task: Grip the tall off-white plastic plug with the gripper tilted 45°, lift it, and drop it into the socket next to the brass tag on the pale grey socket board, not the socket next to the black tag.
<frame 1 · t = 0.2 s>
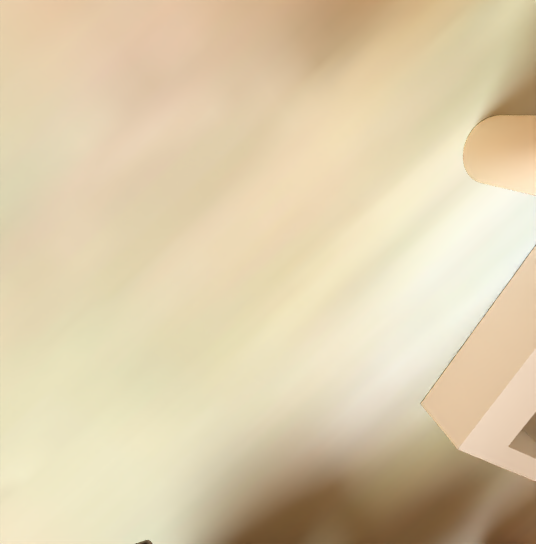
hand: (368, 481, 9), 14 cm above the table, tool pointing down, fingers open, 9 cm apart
plug: (493, 150, 22), on the table
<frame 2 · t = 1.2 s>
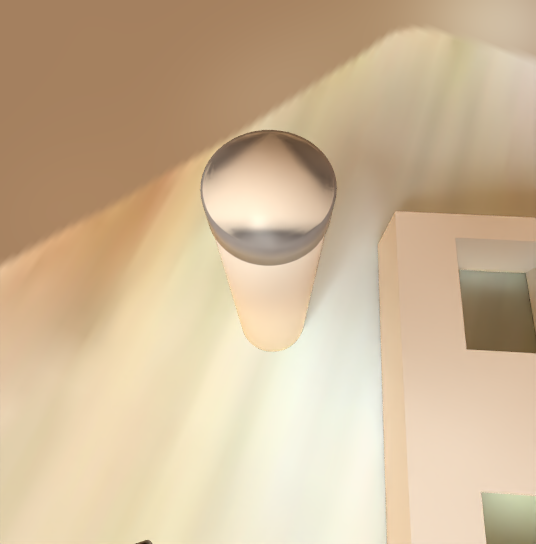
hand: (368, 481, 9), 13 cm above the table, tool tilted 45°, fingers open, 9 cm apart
plug: (272, 320, 24), on the table
socket board: (495, 424, 22), on the table
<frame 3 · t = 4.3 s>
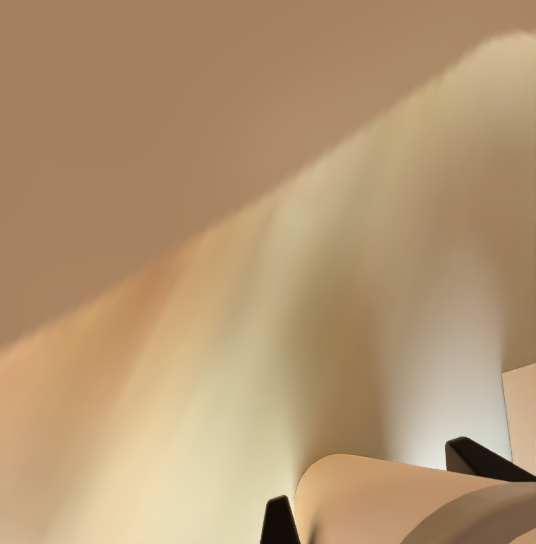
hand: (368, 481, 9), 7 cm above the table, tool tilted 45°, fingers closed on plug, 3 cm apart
plug: (344, 507, 15), on the table, touching gripper
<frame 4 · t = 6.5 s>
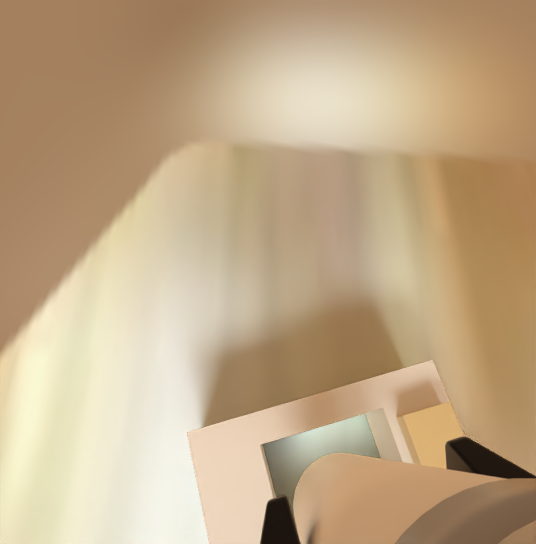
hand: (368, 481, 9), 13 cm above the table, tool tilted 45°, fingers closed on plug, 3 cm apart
plug: (343, 507, 15), point 7 cm above the table, touching gripper
when the fingers open (8 cm above the table, at t = 9.1 s): plug stays where it is, resting in socket board.
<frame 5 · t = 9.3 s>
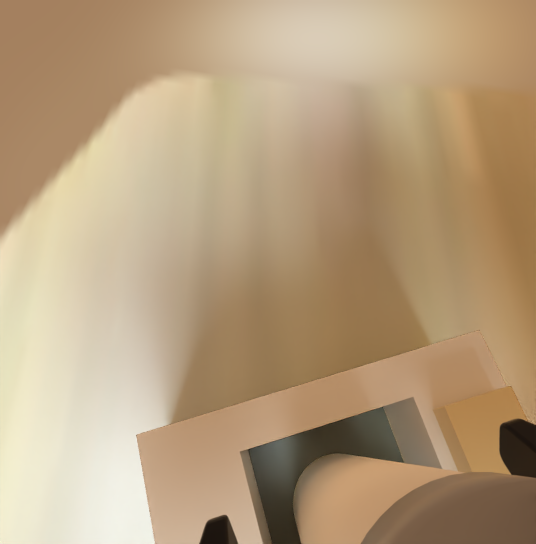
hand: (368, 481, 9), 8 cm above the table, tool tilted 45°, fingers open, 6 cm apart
plug: (340, 504, 16), resting in socket board
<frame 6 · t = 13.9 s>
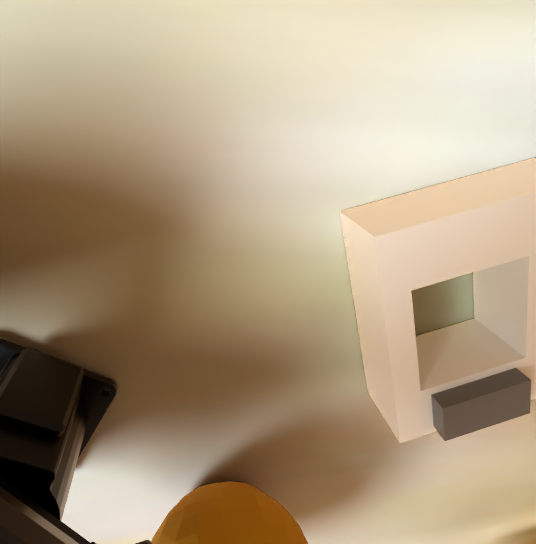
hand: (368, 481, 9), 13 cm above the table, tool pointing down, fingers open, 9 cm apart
apple: (220, 495, 26), on the table
socket board: (520, 261, 24), on the table
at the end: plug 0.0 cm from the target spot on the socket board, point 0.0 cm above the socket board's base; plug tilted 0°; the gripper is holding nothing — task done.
